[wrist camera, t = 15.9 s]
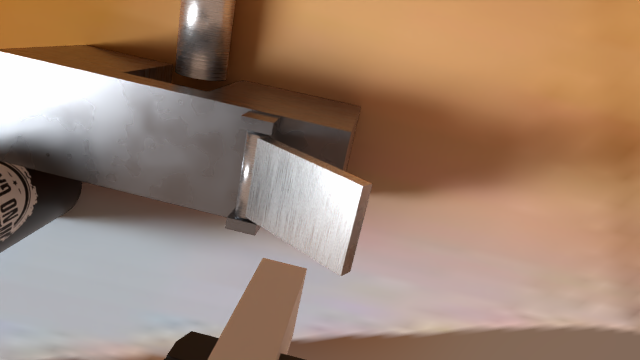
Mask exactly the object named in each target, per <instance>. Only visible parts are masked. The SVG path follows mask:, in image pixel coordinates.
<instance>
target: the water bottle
mask: <svg viewBox="0 0 640 360" xmlns="http://www.w3.org/2000/svg"><path fill="white" fill-rule="evenodd" d="M81 185H82V181H78V180H74V179H70V178H66V177H62V176H58V175H54V174H50V173H46V172H42V171H38V170H34V169H30V168H26V167H22V166H18V165H14V164H10V163H6V162H2V161H0V253H1V252H2V251H4V250H6V249H7V248H9V247H10V246H12V245H14V244H15V243H17V242H19V241H20V240H22V239H23V238H25V237H27V236H28V235H30V234H32V233H33V232H35V231H37V230H38V229H40V228H41V227H43V226H45V225H46V224H48V223H50V222H51V221H53V220H54V219H56V218H58V217H59V216H61V215H63V214H64V213H66V212H67V211H69V210H70V209H71V208H72V207H73V206H74V205H75V203H76V202H77V200H78V198H79V195H80V192H81Z"/></svg>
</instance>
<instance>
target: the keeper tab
mask: <svg viewBox="0 0 640 360" xmlns="http://www.w3.org/2000/svg"><path fill="white" fill-rule="evenodd" d="M268 136H269V135H267V134H263V133H258V132H254V131H250V130H248V131H247V135H246V142H245V149H244V156H243V163H242V169H241V176H240V183H239V190H238V196H237V203H236V210H235V214H236V215H237V216H238V217H240V218H245V219H249V220H251V221H253V222H254V223H256V224H257V225H259V226H261V227H262V228H264V229H265V230H267V231H269V232H270V233H272V234H273V235H275V236H277V237H278V238H280V239H281V240H283V241H285V242H286V243H288V244H289V245H291V246H293V247H294V248H296V249H297V250H299V251H301V252H302V253H304V254H306V255H307V256H309V257H310V258H312V259H314V260H315V261H317V262H318V263H320V264H322V265H323V266H325V267H326V268H328V269H330V270H331V271H333V272H334V273H336V274H338V275H339V276H342V275H344V274H346V273H348V272H350V271H351V267H352V263H353V259H354V255H355V251H356V247H357V243H358V239H359V235H360V231H361V227H362V223H363V219H364V215H365V211H366V207H367V203H368V199H369V195H370V192H371V188H372V183H370V182H368V181H365V180H363V179H361V178H359V177H357V176H354V175H352V174H350V173H348V172H345V171H343V170H341V169H339V168H337V167H334V166H332V165H330V164H328V163H326V162H323V161H321V160H319V159H317V158H314V157H312V156H310V155H308V154H306V153H303V152H301V151H299V150H297V149H294V148H292V147H290V146H288V145H286V144H283V143H281V142H279V141H277V140H274V139H272V138H270V137H268Z"/></svg>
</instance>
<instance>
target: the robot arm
mask: <svg viewBox="0 0 640 360" xmlns="http://www.w3.org/2000/svg"><path fill="white" fill-rule="evenodd" d="M306 270H307V269H306V268H302V267H298V266H294V265H290V264H286V263H282V262H278V261H274V260H270V259H266V258H263V259H262V261H261V262H260V264H259V266H258V268H257V270H256V272H255V273H254V275H253V277H252V279H251V281H250V283H249V284H248V286H247V288H246V290H245V292H244V294H243V295H242V297H241V299H240V301H239V303H238V305H237V306H236V308H235V310H234V312H233V314H232V316H231V317H230V319H229V321H228V323H227V325H226V327H225V328H224V330H223V332H222V334H221V336H220V338H216V337H212V336H208V335H204V334H201V333H197V332H193V331H191V332H190V333H188V334H187V335H185V336H184V337H182V338H181V339H179V340H178V341H176V343H175V344H174V346H173V347H172V349H171V350H170V352H169V353H168V355H167V357H166V358H165V359H164V360H304V359H301V358H297V357H293V356H289V355H287V352H288V349H289V346H290V342H291V339H292V336H293V331H294V327H295V322H296V317H297V313H298V308H299V303H300V298H301V294H302V289H303V284H304V279H305V275H306Z"/></svg>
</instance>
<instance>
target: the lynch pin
mask: <svg viewBox="0 0 640 360" xmlns="http://www.w3.org/2000/svg"><path fill="white" fill-rule="evenodd" d="M235 2H236V0H181V8H180V20H179V31H178V43H177V55H176V67H175V72H176V73H178V74H180V75H183V76H186V77H190V78H195V79H201V80H209V81H224V80H226V75H227V67H228V59H229V51H230V43H231V34H232V26H233V18H234V10H235Z"/></svg>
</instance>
